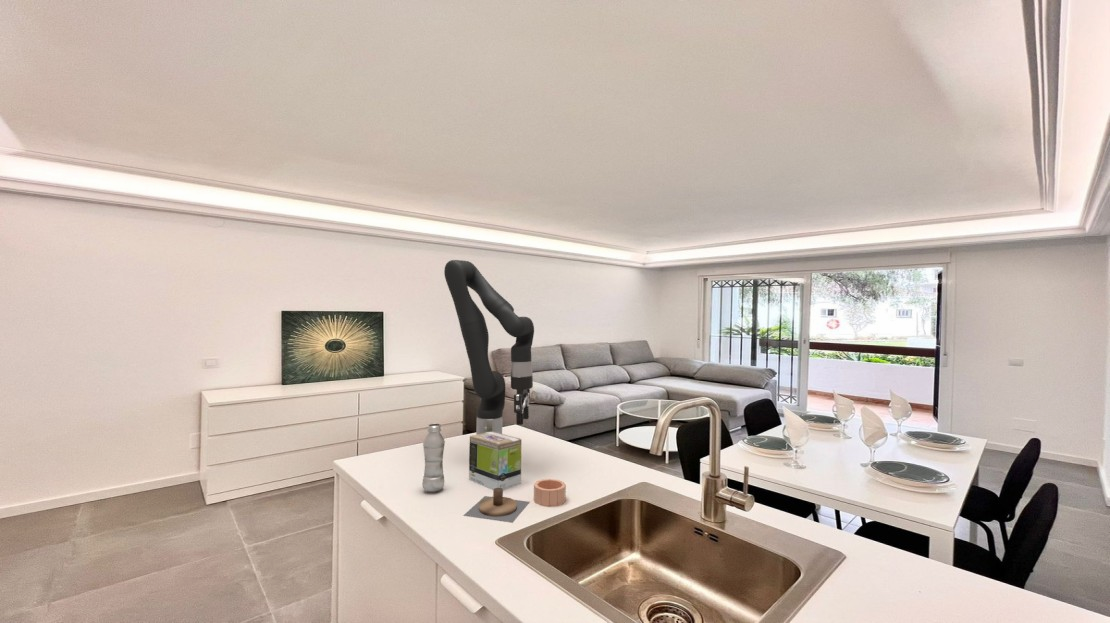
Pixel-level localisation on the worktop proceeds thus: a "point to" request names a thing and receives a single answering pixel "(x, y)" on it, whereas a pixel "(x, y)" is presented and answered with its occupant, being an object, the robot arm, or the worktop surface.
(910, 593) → the worktop surface
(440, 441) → the plastic bottle
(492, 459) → the tea box
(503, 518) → the mat
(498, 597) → the worktop surface
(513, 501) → the lid
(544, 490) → the bowl
